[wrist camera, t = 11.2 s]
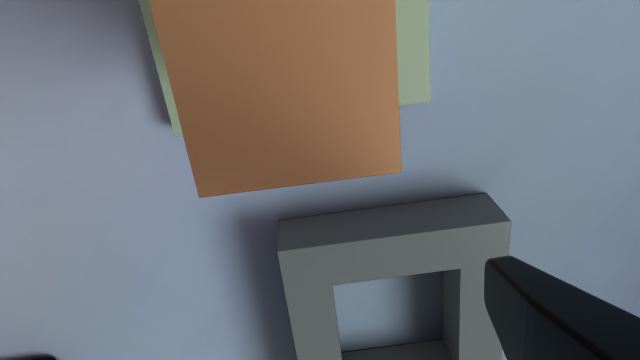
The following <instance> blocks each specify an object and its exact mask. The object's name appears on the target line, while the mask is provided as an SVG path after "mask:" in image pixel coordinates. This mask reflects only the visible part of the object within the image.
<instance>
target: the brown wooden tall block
mask: <svg viewBox="0 0 640 360" xmlns="http://www.w3.org/2000/svg"><path fill="white" fill-rule="evenodd" d="M149 3H150V7H151V11H152V15H153V19H154V22H155V26H156V30H157V34H158V38H159V42H160V46H161V50H162V54H163V58H164V62H165V66H166V70H167V74H168V78H169V81H170V85H171V89H172V93H173V97H174V101H175V105H176V109H177V113H178V117H179V121H180V125H181V129H182V133H183V137H184V140H185V144H186V148H187V152H188V156H189V160H190V164H191V168H192V172H193V176H194V180H195V184H196V188H197V192H198V196H199V198H202V197H210V196H218V195H226V194H234V193H242V192H250V191H258V190H265V189H273V188H281V187H289V186H297V185H305V184H313V183H321V182H329V181H337V180H344V179H352V178H360V177H368V176H376V175H384V174H392V173H400V172H402V164H401V139H400V114H399V88H398V63H397V38H396V12H395V0H149Z"/></svg>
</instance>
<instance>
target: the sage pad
mask: <svg viewBox="0 0 640 360" xmlns="http://www.w3.org/2000/svg"><path fill="white" fill-rule="evenodd" d="M138 1H139V5H140V8H141V12H142V16H143V20H144V23H145V27H146V31H147V35H148V38H149V42H150V46H151V49H152V53H153V57H154V61H155V64H156V68H157V72H158V76H159V79H160V83H161V87H162V91H163V94H164V98H165V102H166V106H167V109H168V113H169V117H170V121H171V124H172V128H173V132H174V135H178V134H183V133H182V129H181V125H180V121H179V117H178V113H177V109H176V105H175V101H174V97H173V93H172V89H171V85H170V81H169V78H168V74H167V70H166V66H165V62H164V58H163V54H162V50H161V46H160V42H159V38H158V34H157V30H156V26H155V22H154V19H153V15H152V11H151V7H150V3H149V0H138ZM395 12H396V38H397V63H398V88H399V106H401V105H408V104H416V103H424V102H431V89H430V16H429V0H395Z"/></svg>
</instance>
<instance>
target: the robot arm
mask: <svg viewBox="0 0 640 360" xmlns="http://www.w3.org/2000/svg"><path fill="white" fill-rule="evenodd" d="M484 302H485V306H486V310H487V312H488V315H489V317H490V319H491V322H492V324H493V327H494V329H495V331H496V334H497V336H498V339H499V341H500V343H501V346H502V348H503V351H504V353H505V356H506V358H507V360H640V318H639V317H637V316H635V315H633V314H631V313H629V312H627V311H625V310H623V309H620V308H618V307H616V306H614V305H612V304H610V303H608V302H606V301H604V300H602V299H600V298H598V297H596V296H593V295H591V294H589V293H587V292H585V291H583V290H581V289H579V288H577V287H575V286H573V285H571V284H569V283H566V282H564V281H562V280H560V279H558V278H556V277H554V276H552V275H550V274H548V273H546V272H544V271H542V270H539V269H537V268H535V267H533V266H531V265H529V264H527V263H525V262H523V261H521V260H519V259H517V258H515V257H512V256H501V257H495V258H489V259H488V260H487V261H486V263H485V268H484ZM34 360H56V359H53V358H41V359H34Z"/></svg>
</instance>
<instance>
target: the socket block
mask: <svg viewBox="0 0 640 360" xmlns="http://www.w3.org/2000/svg"><path fill="white" fill-rule="evenodd" d="M510 231H511V220H510V219H509V218H508V217H507V216H506V215H505V213H504V212H503V211H502V210H501V209H500V208H499V206H498V205H497V204H496V203H495V202H494V201H493V200H492V198H491V197H490V196H489V195H488V194H487V193H483V194H476V195H468V196H460V197H453V198H445V199H437V200H430V201H422V202H414V203H407V204H399V205H392V206H384V207H376V208H369V209H361V210H353V211H346V212H338V213H330V214H323V215H315V216H307V217H300V218H292V219H284V220H279V224H278V245H277V253H278V259H279V264H280V269H281V275H282V280H283V285H284V291H285V296H286V301H287V307H288V312H289V317H290V323H291V328H292V334H293V339H294V344H295V350H296V355H297V360H501V356H502V346H501V343H500V341H499V339H498V336H497V334H496V331H495V329H494V327H493V324H492V322H491V319H490V317H489V315H488V312H487V310H486V306H485V302H484V268H485V263H486V261H487V260H488V259H489V258H495V257H501V256H509V244H510ZM438 271H443V339H442V340H435V341H427V342H419V343H412V344H404V345H397V346H389V347H382V348H374V349H366V350H359V351H351V352H344V353H341V348H340V340H339V333H338V325H337V318H336V310H335V302H334V295H333V287H332V285H339V284H347V283H354V282H362V281H370V280H377V279H385V278H393V277H400V276H408V275H415V274H423V273H431V272H438Z"/></svg>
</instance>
